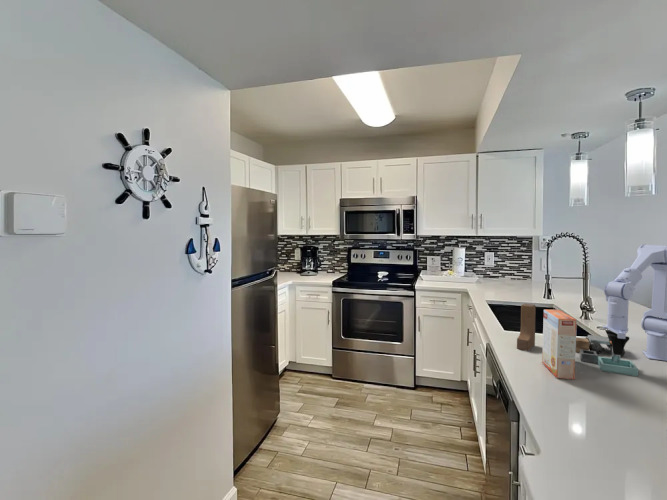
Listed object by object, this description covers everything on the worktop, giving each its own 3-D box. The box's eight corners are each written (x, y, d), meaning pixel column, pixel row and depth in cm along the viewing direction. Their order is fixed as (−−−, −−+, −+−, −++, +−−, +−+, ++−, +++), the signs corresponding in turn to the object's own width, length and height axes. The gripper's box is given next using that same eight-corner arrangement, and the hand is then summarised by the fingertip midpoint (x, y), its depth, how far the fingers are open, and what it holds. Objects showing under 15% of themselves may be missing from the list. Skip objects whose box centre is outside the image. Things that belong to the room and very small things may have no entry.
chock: (587, 350, 143) (587, 338, 143) (588, 354, 140) (589, 341, 140) (572, 348, 146) (572, 337, 145) (573, 352, 142) (574, 340, 142)
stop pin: (621, 361, 126) (621, 341, 125) (623, 364, 123) (624, 344, 122) (608, 359, 127) (609, 339, 127) (610, 362, 124) (611, 342, 124)
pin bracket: (595, 358, 135) (595, 351, 135) (597, 363, 130) (597, 355, 130) (579, 356, 137) (579, 349, 137) (581, 361, 133) (581, 353, 133)
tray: (631, 367, 126) (631, 360, 126) (637, 376, 119) (638, 369, 119) (597, 362, 131) (597, 356, 131) (601, 370, 124) (601, 364, 124)
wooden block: (528, 351, 144) (528, 308, 143) (516, 348, 147) (517, 306, 146) (535, 345, 150) (535, 304, 149) (523, 343, 153) (524, 303, 152)
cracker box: (576, 380, 117) (577, 319, 116) (555, 378, 119) (557, 318, 117) (559, 363, 131) (560, 309, 129) (541, 362, 132) (542, 308, 131)
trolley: (618, 348, 144) (618, 336, 144) (624, 357, 135) (625, 344, 135) (584, 344, 150) (585, 333, 150) (588, 352, 141) (589, 340, 140)
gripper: (599, 309, 132) (598, 344, 133) (607, 319, 119) (606, 357, 120) (623, 311, 129) (622, 347, 130) (634, 321, 116) (632, 361, 117)
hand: (616, 352), depth 125 cm, fingers closed on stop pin, 3 cm apart
